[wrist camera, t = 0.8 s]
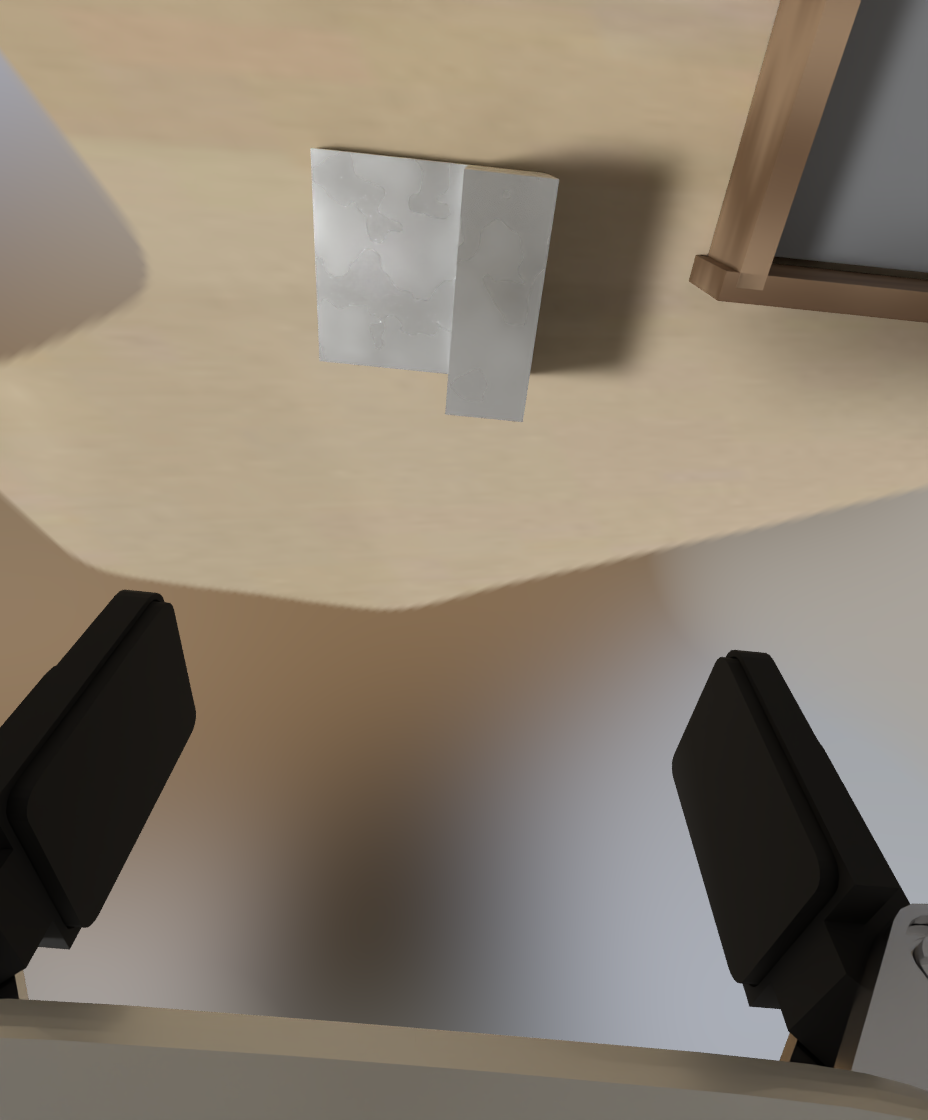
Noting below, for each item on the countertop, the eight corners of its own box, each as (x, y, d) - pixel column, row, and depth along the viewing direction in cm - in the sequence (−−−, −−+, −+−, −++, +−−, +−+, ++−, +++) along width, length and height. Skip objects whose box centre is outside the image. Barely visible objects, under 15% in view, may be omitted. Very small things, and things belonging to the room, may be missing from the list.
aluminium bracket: (516, 374, 29) (522, 422, 24) (324, 354, 28) (289, 398, 23) (545, 172, 24) (559, 179, 19) (316, 147, 24) (271, 147, 19)
